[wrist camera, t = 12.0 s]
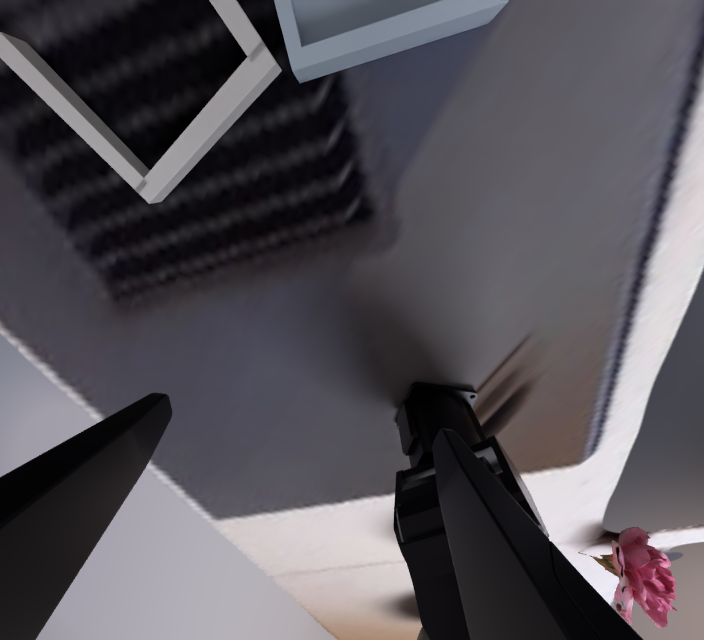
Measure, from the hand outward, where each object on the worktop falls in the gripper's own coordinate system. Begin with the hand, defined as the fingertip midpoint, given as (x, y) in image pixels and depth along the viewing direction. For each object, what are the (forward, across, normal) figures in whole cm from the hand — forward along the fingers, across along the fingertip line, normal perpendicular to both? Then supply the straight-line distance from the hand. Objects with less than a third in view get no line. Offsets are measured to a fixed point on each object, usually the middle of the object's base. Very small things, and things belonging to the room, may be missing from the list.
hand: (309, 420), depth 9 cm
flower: (+13, -50, +35) cm, 62 cm away
